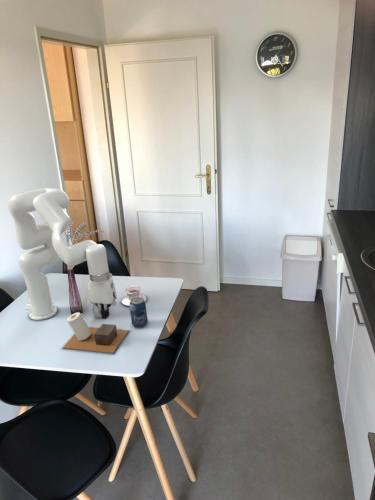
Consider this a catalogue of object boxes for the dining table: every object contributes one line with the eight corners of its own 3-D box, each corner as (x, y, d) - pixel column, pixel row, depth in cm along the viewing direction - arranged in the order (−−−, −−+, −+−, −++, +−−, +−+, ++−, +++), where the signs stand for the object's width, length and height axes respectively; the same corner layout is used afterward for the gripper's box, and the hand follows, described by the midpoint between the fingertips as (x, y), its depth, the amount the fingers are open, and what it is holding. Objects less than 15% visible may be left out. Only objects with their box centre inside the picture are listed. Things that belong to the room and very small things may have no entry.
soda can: (136, 330, 179) (133, 306, 175) (129, 324, 184) (126, 299, 180) (150, 325, 182) (148, 301, 178) (143, 319, 188) (140, 295, 184)
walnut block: (95, 344, 170) (94, 334, 168) (104, 334, 177) (102, 323, 176) (109, 346, 169) (107, 335, 167) (117, 335, 176) (115, 324, 174)
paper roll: (83, 346, 174) (59, 331, 173) (89, 336, 179) (66, 322, 178) (92, 330, 168) (68, 315, 168) (99, 321, 174) (75, 306, 173)
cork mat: (63, 348, 170) (63, 347, 170) (82, 327, 184) (81, 326, 184) (113, 353, 164) (113, 352, 164) (128, 331, 179) (128, 330, 179)
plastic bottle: (105, 319, 190) (99, 279, 182) (91, 319, 191) (84, 279, 184) (110, 312, 195) (104, 273, 188) (97, 311, 197) (90, 273, 190)
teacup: (144, 306, 199) (143, 294, 197) (119, 307, 200) (118, 295, 197) (147, 294, 210) (146, 283, 208) (123, 295, 211) (122, 284, 209)
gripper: (121, 273, 164) (126, 314, 170) (86, 271, 168) (92, 311, 174) (113, 281, 157) (119, 323, 164) (77, 279, 161) (84, 320, 168)
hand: (105, 317), depth 169 cm, fingers closed
